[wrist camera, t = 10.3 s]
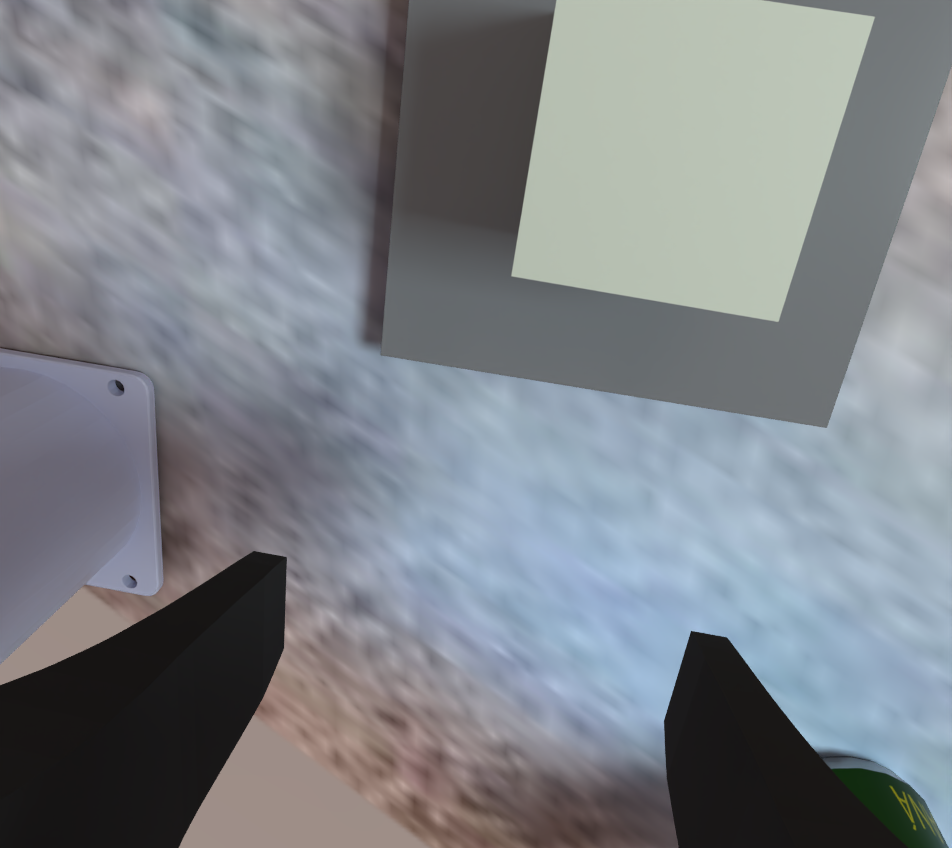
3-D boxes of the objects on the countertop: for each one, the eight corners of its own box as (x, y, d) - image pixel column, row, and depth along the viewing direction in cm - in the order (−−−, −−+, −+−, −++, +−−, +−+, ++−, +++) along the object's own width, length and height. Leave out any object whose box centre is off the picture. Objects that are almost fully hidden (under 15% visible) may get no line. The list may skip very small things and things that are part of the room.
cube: (527, 236, 18) (511, 275, 14) (565, 11, 17) (561, -30, 12) (727, 270, 18) (778, 322, 14) (790, 45, 16) (874, 17, 12)
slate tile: (389, 344, 21) (380, 355, 20) (432, -171, 16) (423, -189, 15) (815, 413, 20) (826, 428, 19) (990, -107, 16) (1015, -122, 15)
